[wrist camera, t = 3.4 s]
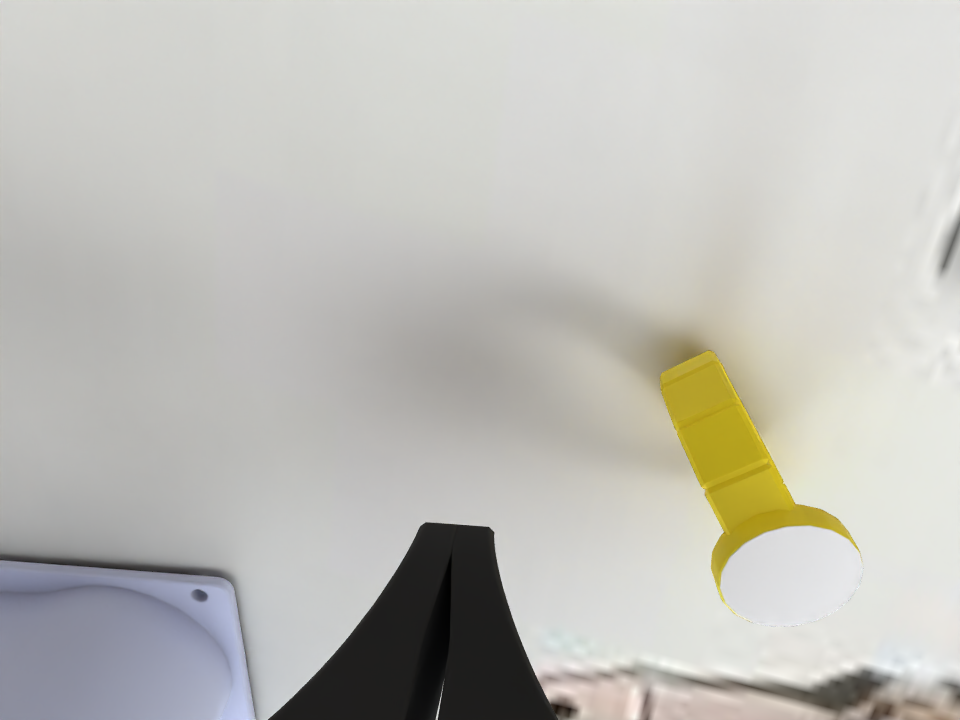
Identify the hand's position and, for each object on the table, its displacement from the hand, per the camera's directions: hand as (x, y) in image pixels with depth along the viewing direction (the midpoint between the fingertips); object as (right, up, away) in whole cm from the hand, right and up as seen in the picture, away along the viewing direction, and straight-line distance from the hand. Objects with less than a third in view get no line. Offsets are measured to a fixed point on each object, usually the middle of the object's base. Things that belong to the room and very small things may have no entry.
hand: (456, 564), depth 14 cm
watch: (+7, +3, +6) cm, 9 cm away
